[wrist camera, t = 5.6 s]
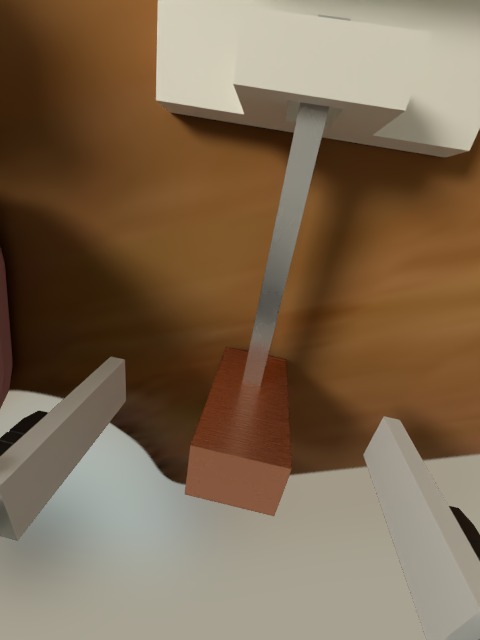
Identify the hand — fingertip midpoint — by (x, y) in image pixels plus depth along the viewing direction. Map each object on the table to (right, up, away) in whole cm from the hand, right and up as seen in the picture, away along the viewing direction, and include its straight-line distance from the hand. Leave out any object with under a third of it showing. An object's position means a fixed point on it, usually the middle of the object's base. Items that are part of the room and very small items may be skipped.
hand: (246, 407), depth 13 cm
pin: (+1, +7, 0) cm, 7 cm away
